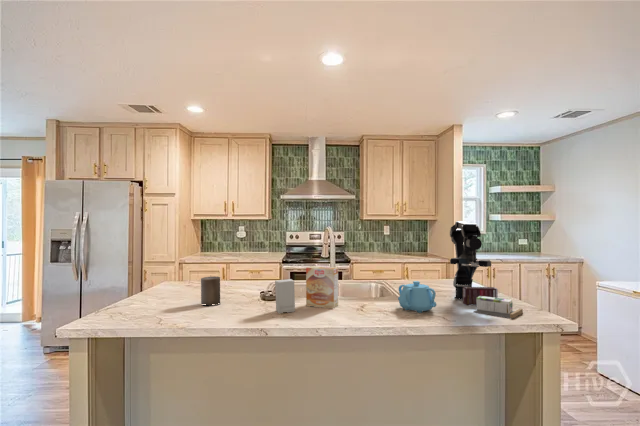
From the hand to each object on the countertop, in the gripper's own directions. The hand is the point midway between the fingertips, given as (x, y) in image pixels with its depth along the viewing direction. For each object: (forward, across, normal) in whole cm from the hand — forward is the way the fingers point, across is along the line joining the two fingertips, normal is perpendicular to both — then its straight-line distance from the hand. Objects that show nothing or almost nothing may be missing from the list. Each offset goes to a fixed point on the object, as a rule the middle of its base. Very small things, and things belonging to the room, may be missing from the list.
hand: (470, 279), depth 185 cm
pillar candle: (+13, -98, -89) cm, 133 cm away
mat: (+13, +15, -6) cm, 21 cm away
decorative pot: (+13, -15, -26) cm, 33 cm away
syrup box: (+10, +5, -5) cm, 12 cm away
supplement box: (+9, +9, +11) cm, 16 cm away
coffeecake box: (+13, -53, -52) cm, 75 cm away
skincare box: (+13, -58, -72) cm, 93 cm away
